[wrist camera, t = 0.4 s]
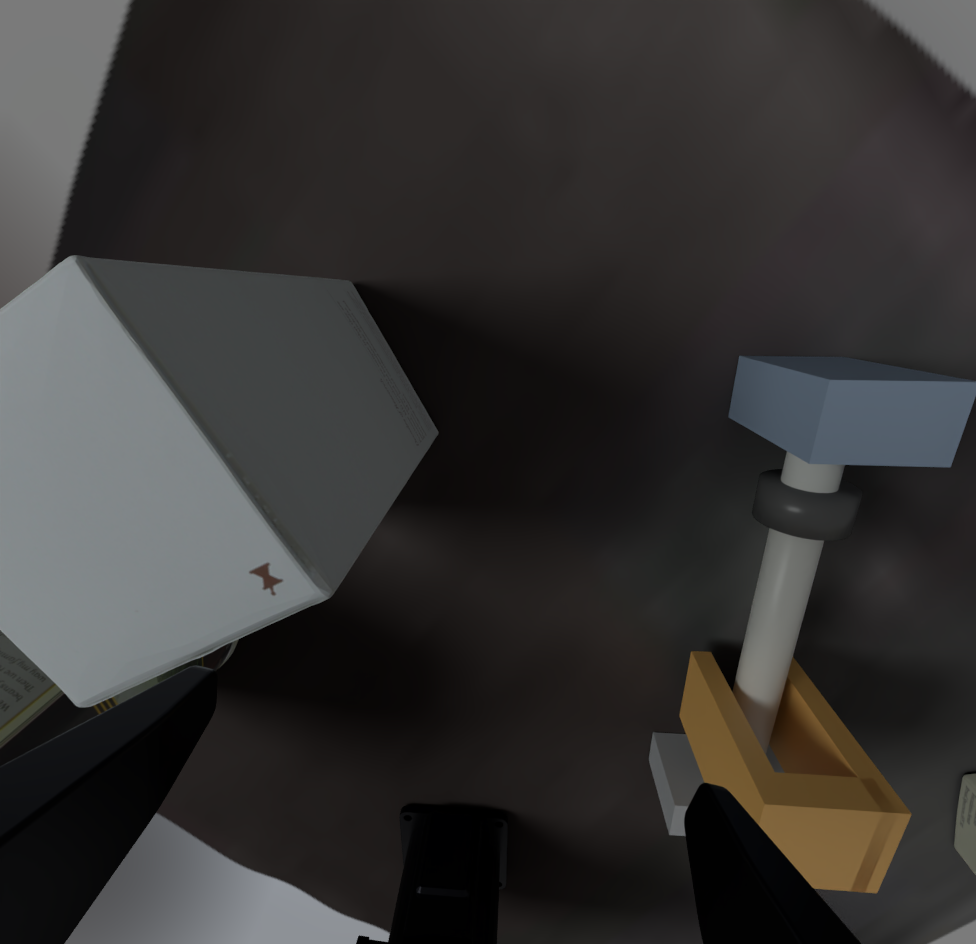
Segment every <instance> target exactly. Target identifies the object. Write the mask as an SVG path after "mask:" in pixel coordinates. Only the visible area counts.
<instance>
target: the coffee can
mask: <svg viewBox="0 0 976 944" xmlns="http://www.w3.org/2000/svg"><path fill="white" fill-rule="evenodd" d="M238 640H239V639H238ZM238 640H235V641H233V642H231V643H228V644H226V645H224V646H222V647H220V648H219V649H217V650H215V651H214V652H212V653H210V654H207V655H205V656H203V657H201V658H198V659H195V660H193V661H190V662H188V663H185V664H183V665H180V666H178V667H176V668H174V669H172V670H169V671H167V672H165V673H163V674H161V675H159V676H157V677H154V678H152V679H150V680H148V681H146V682H143V683H141V684H139V685H137V686H135V687H132V688H130V689H128V690H126V691H124V692H122V693H120V694H118V695H116V696H114V697H111V698H109V699H107V700H104V701H102V702H100V703H98V704H96V705H94V706H91V707H77V706H76V705H75V704H74V703H73V702H72V701H71V700H70V699H69V698H68V696H67V695H66V694H65V693H64V692H63V691H62V690H61V689H60V688H59V687H58V686H57V685H56V684H55V683H54V682H53V681H52V680H51V679H50V678H49V677H48V676H47V675H46V674H45V673H44V672H43V671H42V670H41V669H40V668H39V667H38V666H37V665H36V664H35V663H34V662H33V661H31V660H30V659H29V658H28V657H27V656H26V655H25V654H24V653H23V652H22V651H21V650H20V649H19V648H18V647H17V646H16V645H15V644H14V643H13V642H12V641H11V640H10V639H9V638H8V637H7V636H6V635H5V634H4V633H3V632H2V631H1V630H0V766H2V765H4V764H6V763H7V762H9V761H11V760H13V759H15V758H17V757H19V756H21V755H23V754H25V753H26V752H28V751H30V750H32V749H34V748H36V747H38V746H40V745H42V744H44V743H46V742H47V741H49V740H51V739H53V738H55V737H57V736H59V735H61V734H63V733H65V732H66V731H68V730H70V729H72V728H74V727H76V726H78V725H80V724H82V723H84V722H85V721H87V720H89V719H91V718H93V717H95V716H97V715H99V714H101V713H103V712H105V711H106V710H108V709H110V708H112V707H114V706H116V705H118V704H120V703H122V702H124V701H125V700H127V699H129V698H131V697H133V696H135V695H137V694H139V693H141V692H143V691H144V690H146V689H148V688H150V687H152V686H154V685H156V684H158V683H160V682H162V681H164V680H165V679H167V678H169V677H171V676H173V675H175V674H177V673H179V672H181V671H183V670H184V669H186V668H188V667H191V666H201V667H206V668H210V669H214V670H215V671H217V669H218V668H220V667H221V666H222V665H223V664H224V663H225V662H226V661H227V660H228V659H229V657H230V656H231V654H232V653H233V651H234V649H235V647H236V645H237V643H238Z"/></svg>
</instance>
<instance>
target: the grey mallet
mask: <svg viewBox="0 0 976 944" xmlns="http://www.w3.org/2000/svg"><path fill="white" fill-rule="evenodd" d="M975 397H976V381H973V380H967V379H962V378H956V377H951V376H945V375H940V374H934V373H929V372H923V371H918V370H912V369H907V368H901V367H896V366H891V365H885V364H880V363H874V362H869V361H863V360H858V359H852V358H847V357H801V356H739V360H738V366H737V371H736V377H735V383H734V388H733V394H732V399H731V405H730V411H729V416H728V417H729V418H731V419H732V420H734V421H736V422H738V423H739V424H741V425H743V426H744V427H746V428H748V429H750V430H751V431H753V432H755V433H757V434H758V435H760V436H762V437H763V438H765V439H767V440H769V441H770V442H772V443H774V444H776V445H777V446H779V447H781V448H782V449H784V450H786V451H787V453H786V458H785V462H784V466H783V469H775V470H768V471H765V472H763V473H761V474H760V477H759V481H758V486H757V491H756V496H755V500H754V505H753V510H752V515H753V516H754V518H755V519H756V520H757V521H759V522H760V523H762V524H763V525H765V526H767V527H769V533H768V537H767V541H766V546H765V550H764V555H763V559H762V563H761V568H760V572H759V577H758V581H757V585H756V590H755V594H754V599H753V603H752V607H751V612H750V616H749V621H748V625H747V629H746V634H745V638H744V643H743V647H742V651H741V656H740V660H739V665H738V669H737V674H736V678H735V682H734V687H733V691H732V693H733V695H734V696H735V698H736V700H737V702H738V704H739V706H740V708H741V710H742V711H743V713H744V715H745V717H746V719H747V721H748V723H749V725H750V726H751V728H752V730H753V732H754V734H755V736H756V738H757V740H758V741H759V743H760V745H761V747H762V749H763V751H764V753H765V755H766V756H767V758H768V760H769V762H770V764H771V766H772V768H773V770H774V772H779V773H785V772H784V770H783V769H782V767H781V765H780V763H779V761H778V760H777V758H776V756H775V754H774V752H773V751H772V749H771V747H770V745H769V742H770V738H771V734H772V731H773V727H774V723H775V720H776V716H777V712H778V709H779V705H780V701H781V698H782V694H783V690H784V687H785V683H786V679H787V676H788V672H789V668H790V665H791V661H792V657H793V654H794V650H795V646H796V643H797V639H798V635H799V632H800V628H801V624H802V621H803V617H804V613H805V610H806V606H807V603H808V599H809V595H810V592H811V588H812V584H813V581H814V577H815V573H816V570H817V566H818V562H819V559H820V555H821V551H822V548H823V544H824V541H835V540H842V539H845V538H847V537H849V536H850V535H851V533H852V529H853V526H854V522H855V519H856V516H857V512H858V509H859V505H860V502H861V499H862V495H863V493H862V491H861V490H860V489H859V488H858V487H857V486H855V485H853V484H851V483H849V482H847V481H844V480H842V479H841V478H842V474H843V471H844V467H845V465H874V466H915V467H951V465H952V462H953V459H954V456H955V453H956V450H957V448H958V445H959V442H960V439H961V436H962V433H963V431H964V428H965V425H966V422H967V419H968V417H969V414H970V411H971V408H972V405H973V402H974V400H975ZM649 762H650V766H651V770H652V773H653V777H654V781H655V784H656V788H657V792H658V795H659V799H660V803H661V806H662V810H663V814H664V817H665V821H666V825H667V828H668V832H669V835H678V836H686V835H685V828H684V817H685V812H686V810H687V808H688V806H689V804H690V802H691V800H692V798H693V796H694V795H695V793H696V791H697V789H698V787H699V785H701V784H702V783H704V780H703V777H702V775H701V772H700V769H699V767H698V764H697V761H696V759H695V756H694V753H693V751H692V748H691V745H690V743H689V740H688V737H687V735H686V734H673V733H656V732H653V736H652V742H651V748H650V754H649Z"/></svg>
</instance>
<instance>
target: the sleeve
mask: <svg viewBox="0 0 976 944" xmlns="http://www.w3.org/2000/svg"><path fill="white" fill-rule="evenodd" d="M680 719H681V721H682V724H683V727H684V729H685V732H686V735H687V737H688V740H689V743H690V745H691V748H692V751H693V753H694V756H695V759H696V761H697V764H698V767H699V769H700V772H701V775H702V777H703V780H704V783H710V784H714V785H718V786H722V787H724V788H726V789H727V790H728V791H729V792H730V793H731V794H732V795H733V796H734V797H735V798H736V800H737V801H738V802H739V803H740V804H741V805H742V806H743V808H744V809H745V810H746V811H747V812H748V813H749V815H750V816H751V817H752V818H753V819H754V820H755V822H756V823H757V824H758V825H759V826H760V827H761V828H762V830H763V831H764V832H765V833H766V834H767V835H768V837H769V838H770V839H771V840H772V841H773V842H774V843H775V845H776V846H777V847H778V848H779V849H780V850H781V852H782V853H783V854H784V855H785V856H786V857H787V858H788V860H789V861H790V862H791V863H792V864H793V865H794V867H795V868H796V869H797V870H798V871H799V872H800V873H801V875H802V876H803V877H804V878H805V879H806V880H807V882H808V883H809V884H810V885H811V886H812V887H813V888H815V889H828V890H840V891H853V892H866V893H877V892H878V890H879V888H880V885H881V883H882V881H883V878H884V876H885V874H886V872H887V869H888V867H889V865H890V863H891V860H892V858H893V856H894V853H895V851H896V849H897V847H898V844H899V842H900V840H901V838H902V835H903V833H904V831H905V828H906V826H907V824H908V822H909V819H910V817H911V815H912V814H911V813H910V811H909V810H908V809H907V807H906V806H905V805H904V803H903V802H902V801H901V799H900V798H899V797H898V795H897V794H896V793H895V791H894V790H893V789H892V787H891V786H890V785H889V783H888V782H887V781H886V779H885V778H884V777H883V775H882V774H881V773H880V771H879V770H878V769H877V767H876V766H875V765H874V764H873V762H872V761H871V760H870V758H869V757H868V756H867V754H866V753H865V752H864V750H863V749H862V748H861V746H860V745H859V744H858V742H857V741H856V740H855V738H854V737H853V736H852V734H851V733H850V732H849V730H848V729H847V728H846V726H845V725H844V724H843V722H842V721H841V720H840V718H839V717H838V716H837V714H836V713H835V712H834V710H833V709H832V708H831V707H830V705H829V704H828V703H827V701H826V700H825V699H824V697H823V696H822V695H821V693H820V692H819V691H818V689H817V688H816V687H815V685H814V684H813V683H812V681H811V680H810V679H809V677H808V676H807V675H806V673H805V672H804V671H803V669H802V668H801V667H800V665H799V664H798V663H797V661H796V660H795V659H794V657H792V661H791V665H790V668H789V672H788V676H787V679H786V683H785V687H784V690H783V694H782V698H781V701H780V705H779V709H778V712H777V716H776V720H775V723H774V727H773V731H772V734H771V738H770V742H769V745H770V747H771V749H772V751H773V752H774V754H775V756H776V758H777V760H778V761H779V763H780V765H781V767H782V769H783V770H784V772H785V773H779V772H774V770H773V768H772V766H771V764H770V762H769V760H768V758H767V756H766V755H765V753H764V751H763V749H762V747H761V745H760V743H759V741H758V740H757V738H756V736H755V734H754V732H753V730H752V728H751V726H750V725H749V723H748V721H747V719H746V717H745V715H744V713H743V711H742V710H741V708H740V706H739V704H738V702H737V700H736V698H735V696H734V695H733V693H732V691H731V689H730V687H729V685H728V683H727V681H726V679H725V678H724V676H723V674H722V672H721V670H720V668H719V666H718V664H717V663H716V661H715V659H714V657H713V655H712V653H711V652H701V651H691V655H690V661H689V666H688V672H687V677H686V683H685V688H684V694H683V699H682V705H681V710H680Z"/></svg>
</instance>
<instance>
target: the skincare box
mask: <svg viewBox="0 0 976 944" xmlns="http://www.w3.org/2000/svg"><path fill="white" fill-rule="evenodd" d="M954 847H955V849H956V850H957V851H958V853H959V854H960V855H961V857H962V858H963V859H964V861H965V862H966V863H967V864H968V866H969V867H970V868H971V870H972V871H973V872H974V873H975V875H976V773H975V774H967V775H964V776H963V778H962V783H961V789H960V796H959V802H958V809H957V818H956V828H955V840H954Z"/></svg>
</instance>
